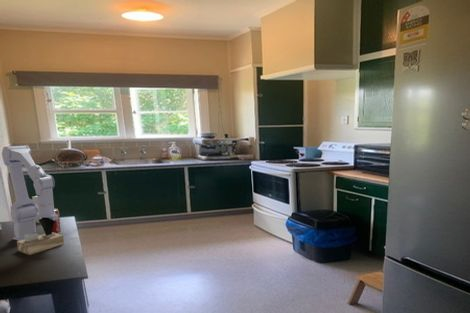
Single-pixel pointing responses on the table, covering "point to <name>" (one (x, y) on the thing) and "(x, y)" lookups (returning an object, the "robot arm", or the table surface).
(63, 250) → the table surface
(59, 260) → the table surface
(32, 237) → the peg
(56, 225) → the soda can
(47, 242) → the peg board
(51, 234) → the peg
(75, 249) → the table surface
